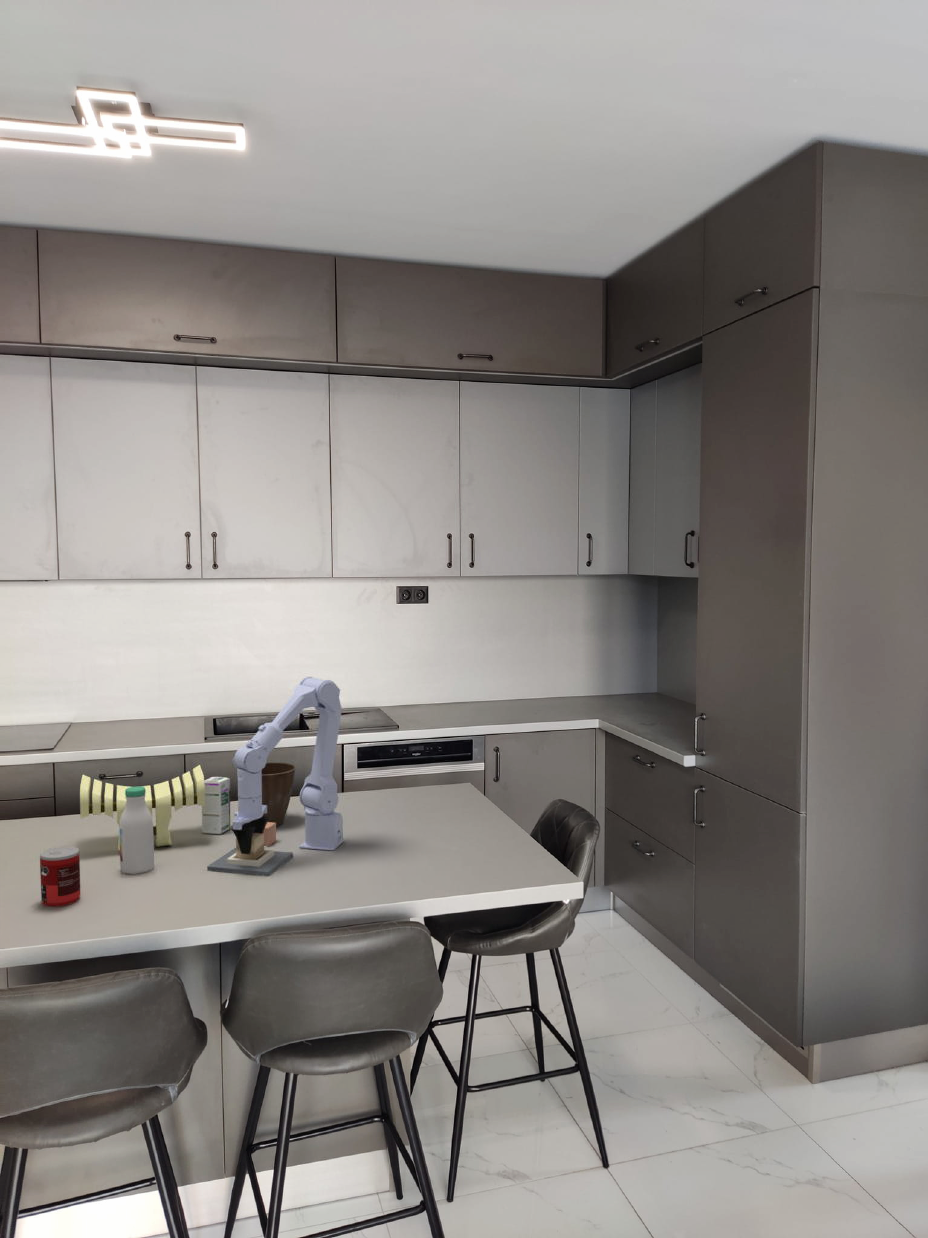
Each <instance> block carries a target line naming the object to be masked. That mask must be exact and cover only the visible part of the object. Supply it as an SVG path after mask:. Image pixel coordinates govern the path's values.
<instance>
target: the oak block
mask: <svg viewBox="0 0 928 1238" xmlns="http://www.w3.org/2000/svg"><path fill="white" fill-rule="evenodd" d="M235 848H236V858H237V859H249V860H256V859H257V858H259V857H260V856H261V855H263V854H264V850H265V847H264V834H262V833H253V836H252V843H251V851H250V854H241V851H240V847H239V844H238V841H237V838H236V837H235Z"/></svg>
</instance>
